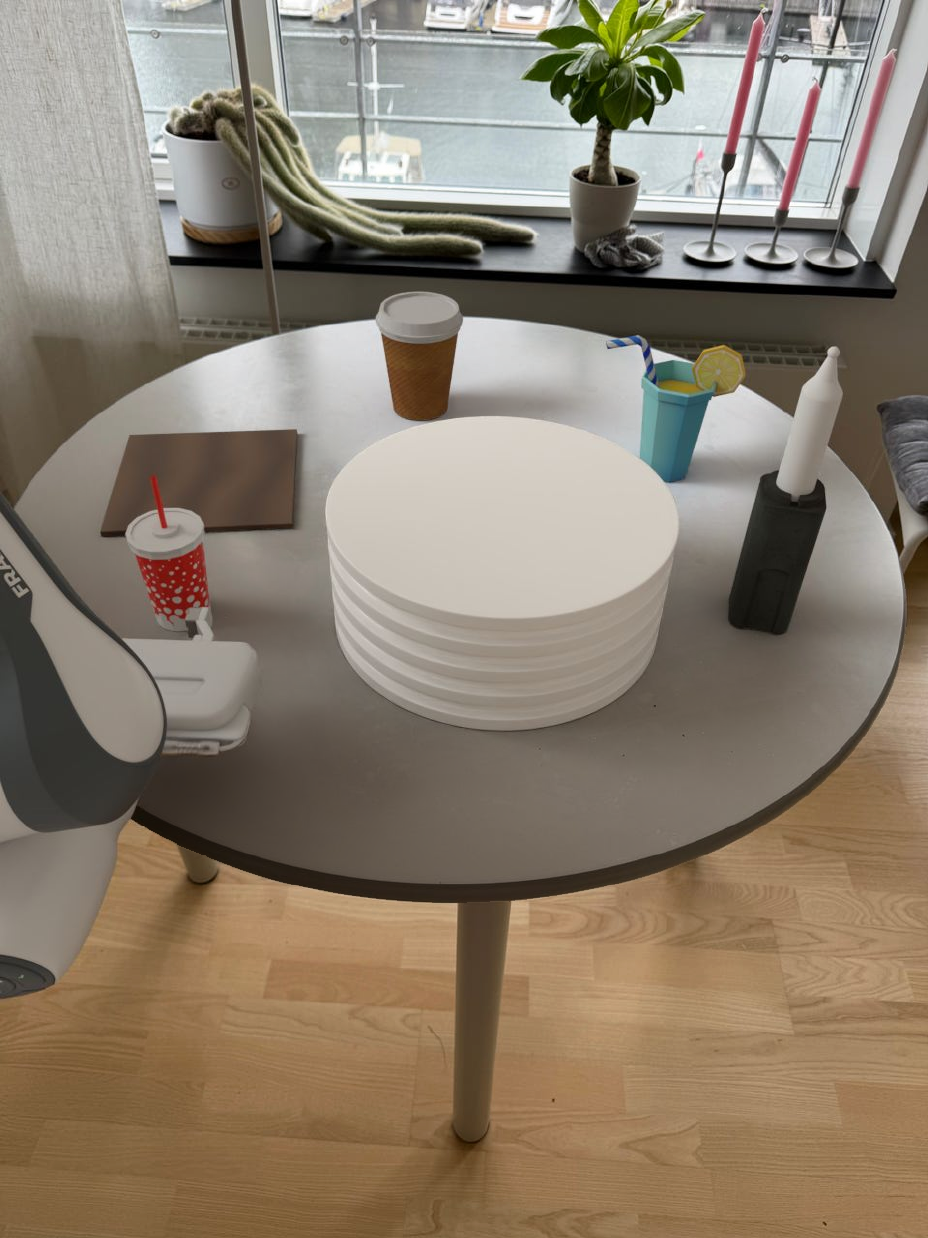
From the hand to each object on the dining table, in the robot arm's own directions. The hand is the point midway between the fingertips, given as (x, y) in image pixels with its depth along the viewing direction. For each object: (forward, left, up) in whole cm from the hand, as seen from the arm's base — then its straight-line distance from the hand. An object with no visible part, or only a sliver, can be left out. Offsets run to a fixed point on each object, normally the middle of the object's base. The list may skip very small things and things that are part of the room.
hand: (138, 611), depth 72 cm
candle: (+51, +4, -8) cm, 52 cm away
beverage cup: (+1, +8, -8) cm, 11 cm away
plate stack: (+28, +6, -8) cm, 30 cm away
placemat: (+1, +29, -7) cm, 30 cm away
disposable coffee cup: (+24, +43, -8) cm, 50 cm away
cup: (+48, +28, -8) cm, 56 cm away
